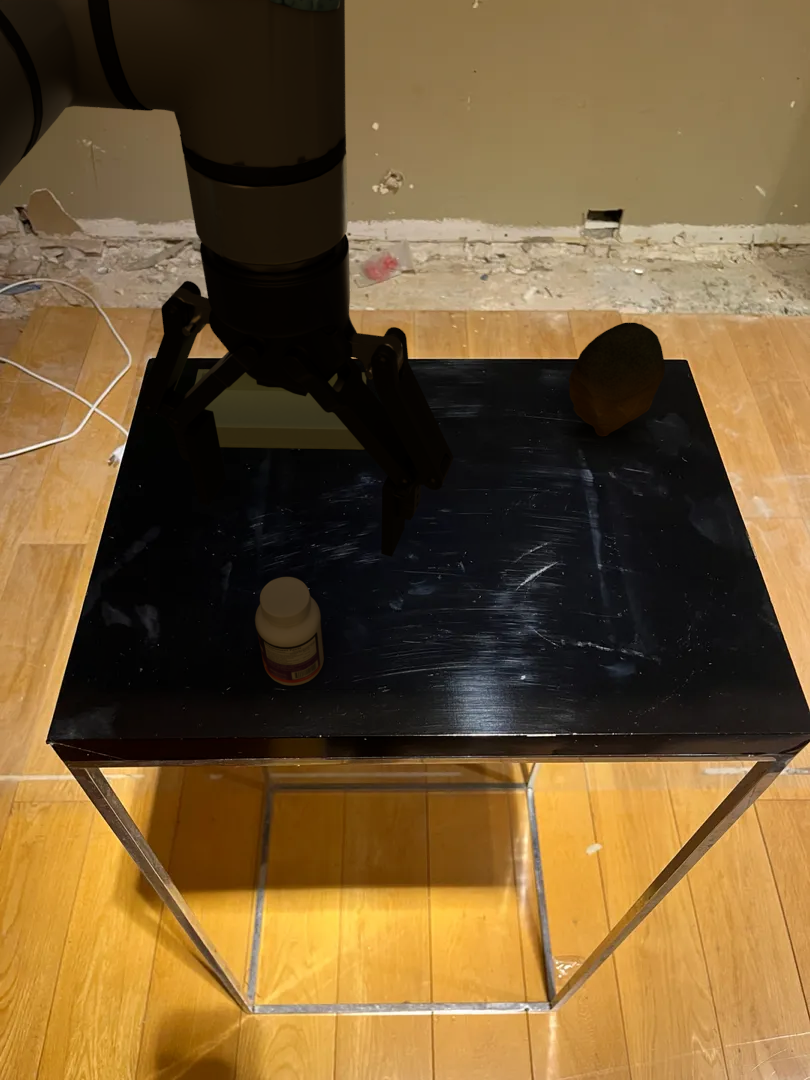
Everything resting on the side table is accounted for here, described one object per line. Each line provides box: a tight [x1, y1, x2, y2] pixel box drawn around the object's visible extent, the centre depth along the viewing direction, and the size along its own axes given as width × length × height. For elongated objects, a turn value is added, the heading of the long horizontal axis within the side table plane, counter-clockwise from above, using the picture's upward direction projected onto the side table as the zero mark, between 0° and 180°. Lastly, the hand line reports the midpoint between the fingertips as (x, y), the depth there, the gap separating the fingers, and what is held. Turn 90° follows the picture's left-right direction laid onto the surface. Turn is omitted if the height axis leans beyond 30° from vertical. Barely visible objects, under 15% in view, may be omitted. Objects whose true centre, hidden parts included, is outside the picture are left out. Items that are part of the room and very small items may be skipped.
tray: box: [194, 368, 368, 451], centre depth 93 cm, size 19×10×3 cm, turn 90°
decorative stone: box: [568, 322, 666, 437], centre depth 88 cm, size 10×6×15 cm, turn 90°
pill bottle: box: [254, 576, 325, 686], centre depth 69 cm, size 5×5×10 cm
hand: (301, 516), depth 58 cm, fingers open, 13 cm apart
